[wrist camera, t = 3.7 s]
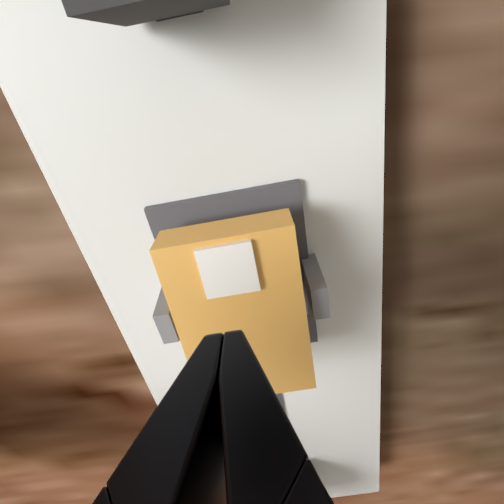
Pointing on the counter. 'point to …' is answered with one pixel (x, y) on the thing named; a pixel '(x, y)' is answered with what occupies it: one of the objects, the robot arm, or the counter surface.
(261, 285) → the tan block
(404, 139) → the counter surface
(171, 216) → the panel
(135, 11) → the slider
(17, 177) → the counter surface
